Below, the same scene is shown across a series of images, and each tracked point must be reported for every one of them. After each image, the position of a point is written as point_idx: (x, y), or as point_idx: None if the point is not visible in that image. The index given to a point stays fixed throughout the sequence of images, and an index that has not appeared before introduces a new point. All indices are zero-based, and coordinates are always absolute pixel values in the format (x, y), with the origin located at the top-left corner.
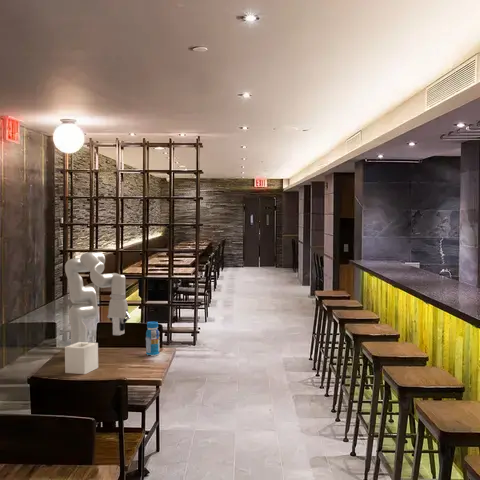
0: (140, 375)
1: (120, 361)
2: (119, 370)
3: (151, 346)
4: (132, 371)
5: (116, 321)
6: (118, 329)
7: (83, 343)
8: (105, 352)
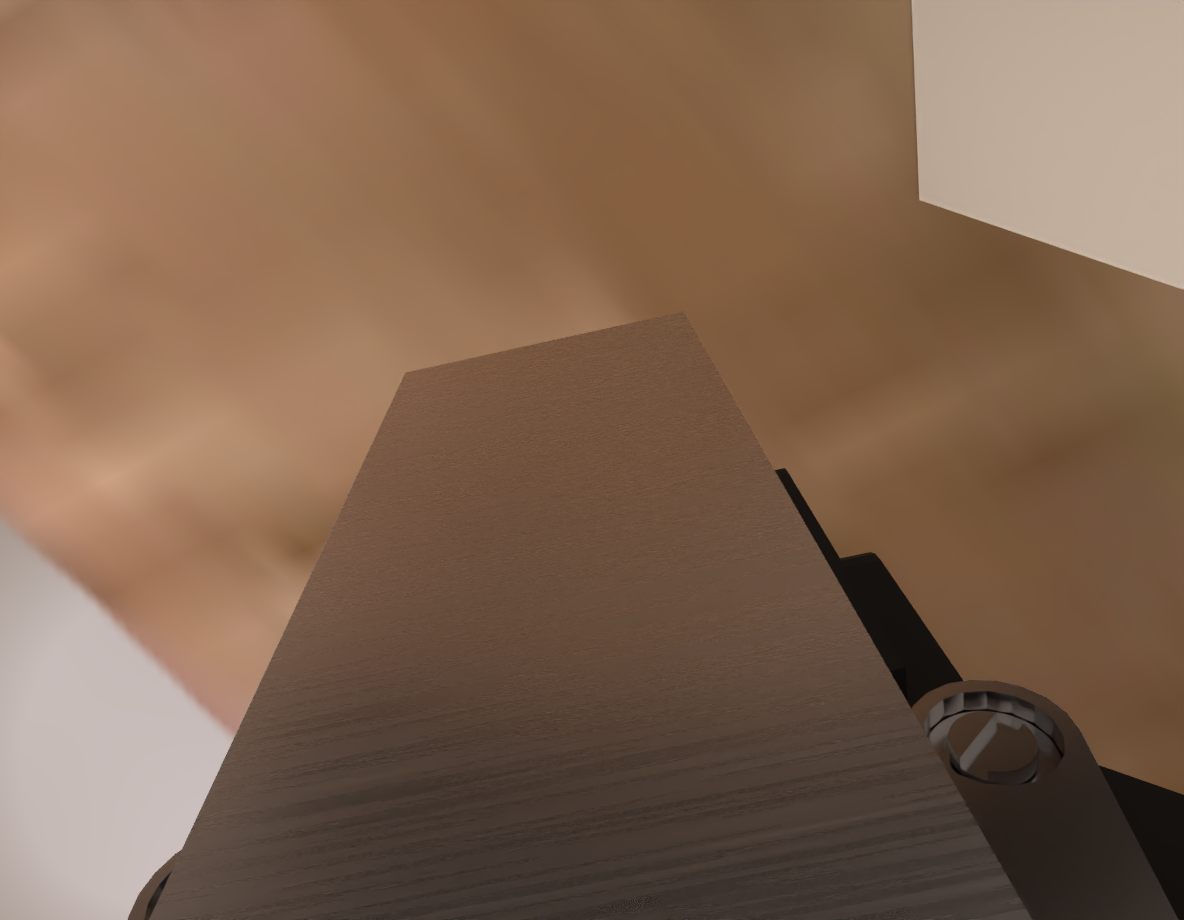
0: (30, 153)
1: None
2: (531, 235)
3: None
4: (321, 281)
5: (490, 729)
6: (409, 462)
7: None
8: None
